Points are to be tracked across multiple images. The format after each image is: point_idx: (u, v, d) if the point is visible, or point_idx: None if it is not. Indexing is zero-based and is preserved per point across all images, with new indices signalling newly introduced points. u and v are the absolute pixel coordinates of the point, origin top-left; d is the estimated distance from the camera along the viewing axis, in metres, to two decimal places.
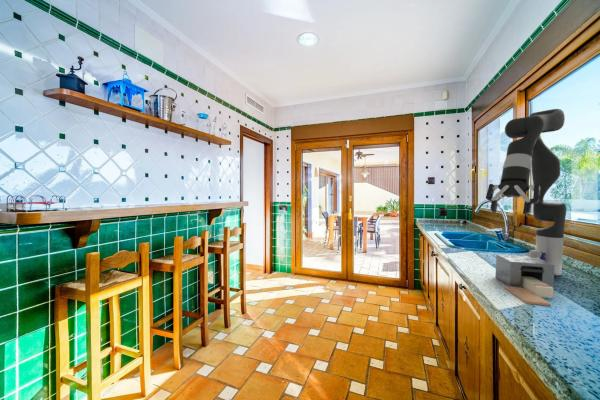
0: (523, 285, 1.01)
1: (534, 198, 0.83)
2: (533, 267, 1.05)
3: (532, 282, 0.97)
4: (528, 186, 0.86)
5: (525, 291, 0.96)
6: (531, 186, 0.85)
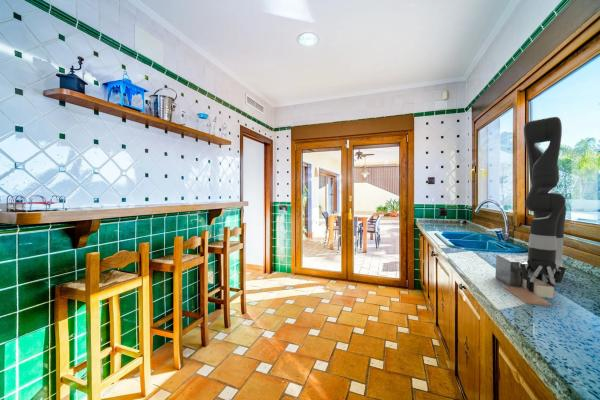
0: (523, 284, 1.01)
1: (558, 280, 0.93)
2: None
3: None
4: (555, 266, 0.94)
5: (525, 291, 0.96)
6: (557, 267, 0.94)
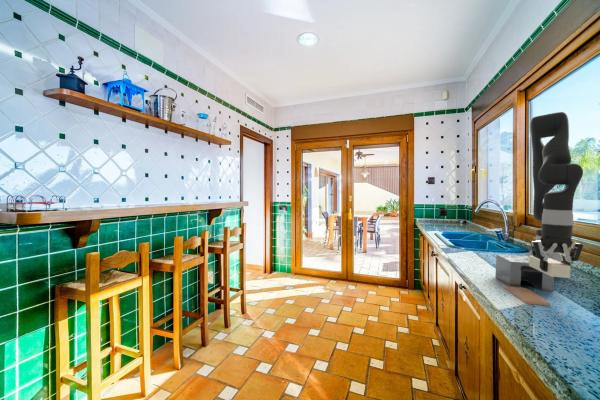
0: (535, 265, 0.94)
1: (575, 258, 0.86)
2: None
3: None
4: (572, 244, 0.86)
5: (525, 291, 0.96)
6: (574, 244, 0.86)
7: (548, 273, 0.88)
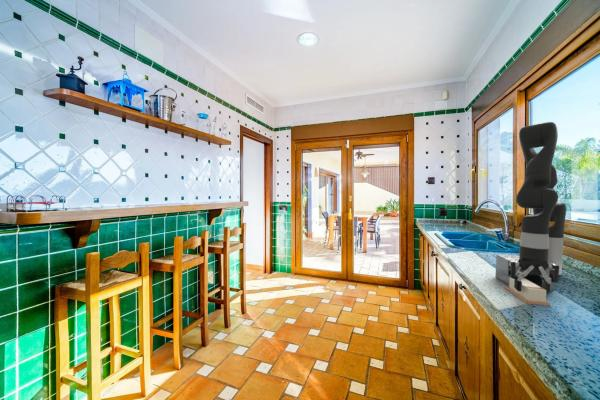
0: (514, 287, 0.96)
1: (555, 280, 0.88)
2: None
3: (524, 284, 0.92)
4: (548, 266, 0.88)
5: None
6: (550, 266, 0.88)
7: (525, 296, 0.90)
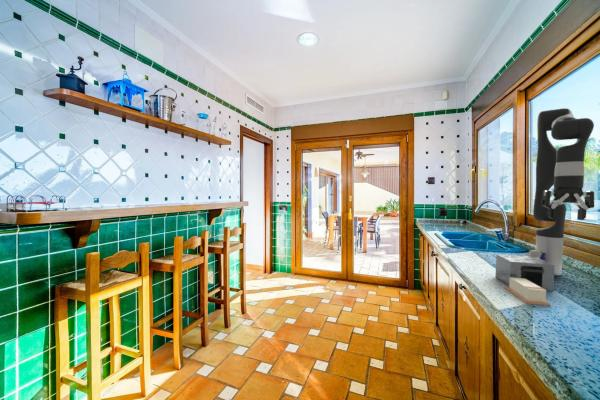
0: (514, 287, 0.96)
1: (591, 205, 0.91)
2: (533, 267, 1.05)
3: (524, 284, 0.92)
4: (583, 193, 0.92)
5: None
6: (585, 193, 0.92)
7: (525, 296, 0.90)
